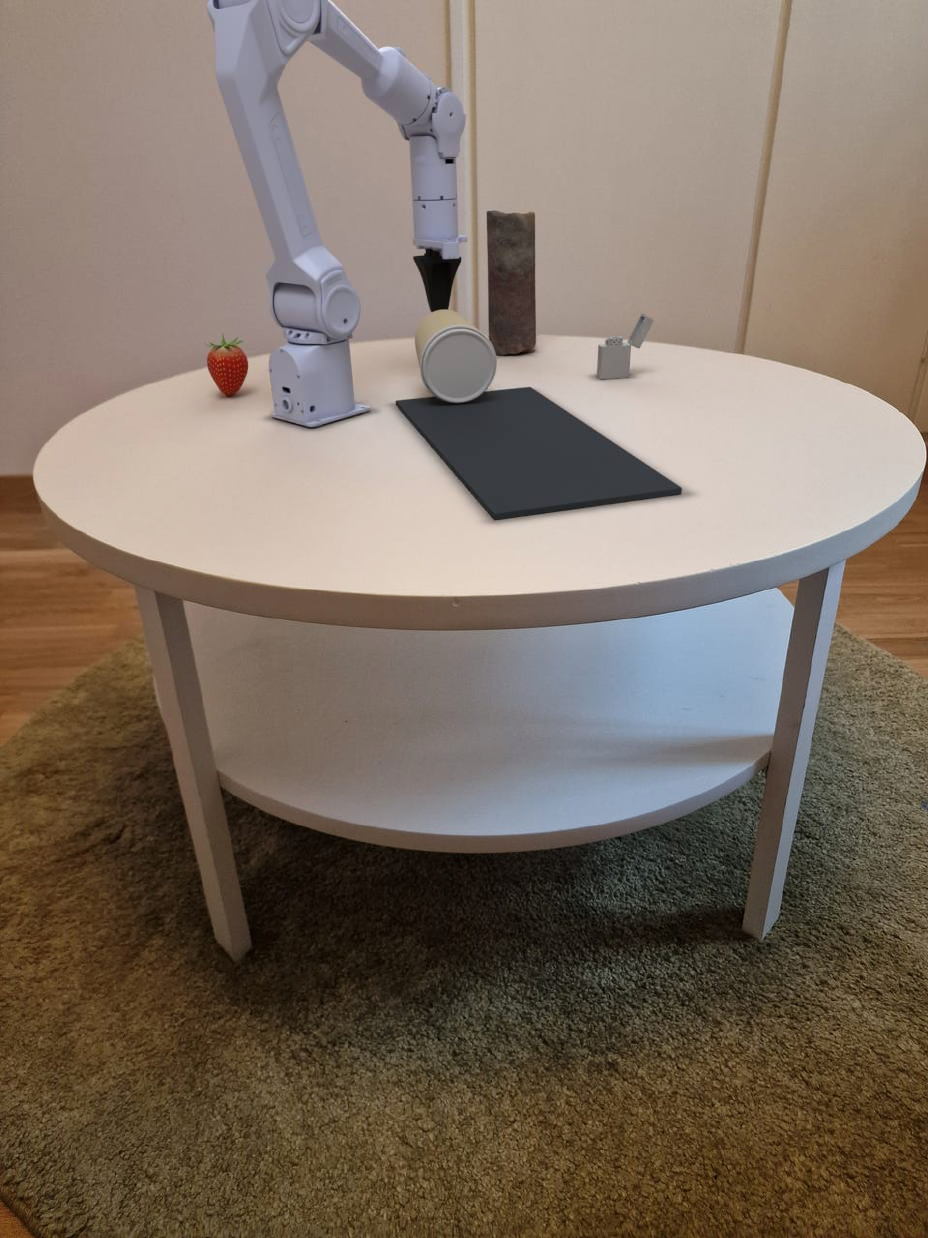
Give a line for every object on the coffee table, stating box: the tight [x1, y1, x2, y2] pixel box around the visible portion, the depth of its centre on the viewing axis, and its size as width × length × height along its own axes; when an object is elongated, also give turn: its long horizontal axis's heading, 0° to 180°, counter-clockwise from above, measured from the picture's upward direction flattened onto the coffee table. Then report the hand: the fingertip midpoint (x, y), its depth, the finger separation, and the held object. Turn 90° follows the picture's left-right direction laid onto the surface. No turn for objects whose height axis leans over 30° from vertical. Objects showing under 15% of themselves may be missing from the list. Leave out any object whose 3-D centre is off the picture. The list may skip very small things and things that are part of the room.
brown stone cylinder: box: [486, 210, 537, 356], centre depth 128 cm, size 8×7×20 cm
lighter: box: [596, 313, 655, 380], centre depth 115 cm, size 7×2×8 cm, turn 100°
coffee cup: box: [414, 309, 498, 403], centre depth 106 cm, size 9×9×12 cm
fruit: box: [205, 333, 249, 397], centre depth 112 cm, size 5×5×8 cm
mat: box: [395, 386, 683, 521], centre depth 92 cm, size 40×18×1 cm, turn 16°
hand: (439, 311), depth 114 cm, fingers closed
